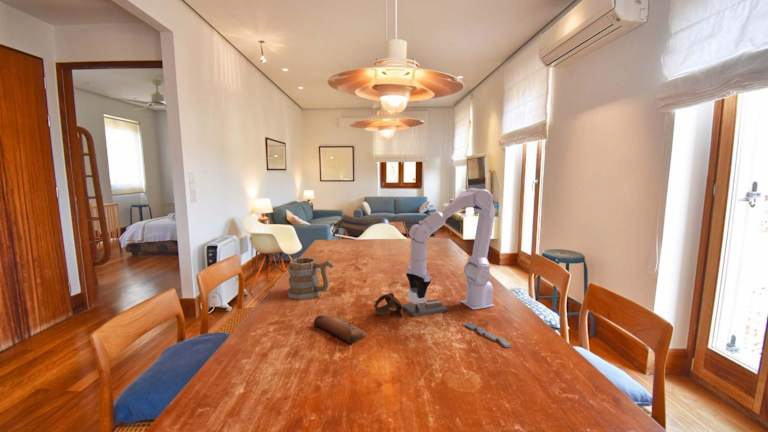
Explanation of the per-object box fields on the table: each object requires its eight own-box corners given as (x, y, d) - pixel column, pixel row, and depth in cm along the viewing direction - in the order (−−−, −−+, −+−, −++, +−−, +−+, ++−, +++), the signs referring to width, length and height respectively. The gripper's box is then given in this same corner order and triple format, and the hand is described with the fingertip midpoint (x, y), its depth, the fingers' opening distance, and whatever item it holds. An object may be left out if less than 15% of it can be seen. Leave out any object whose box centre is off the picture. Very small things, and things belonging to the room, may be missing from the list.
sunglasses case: (371, 334, 101) (362, 320, 98) (356, 353, 97) (347, 339, 94) (333, 317, 113) (325, 304, 110) (319, 333, 109) (310, 320, 106)
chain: (469, 323, 109) (469, 321, 109) (513, 345, 95) (514, 342, 95) (462, 326, 107) (462, 323, 107) (506, 348, 94) (506, 346, 93)
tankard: (281, 296, 132) (280, 260, 130) (300, 286, 143) (299, 253, 141) (324, 304, 124) (323, 265, 122) (340, 293, 136) (340, 257, 134)
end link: (420, 297, 122) (420, 287, 122) (426, 302, 117) (426, 291, 117) (408, 299, 120) (408, 288, 120) (413, 303, 116) (413, 292, 115)
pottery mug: (405, 322, 111) (394, 304, 108) (381, 331, 113) (369, 314, 110) (405, 300, 122) (395, 283, 120) (382, 309, 124) (372, 292, 122)
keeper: (435, 301, 127) (435, 292, 127) (447, 311, 119) (448, 300, 118) (402, 306, 122) (402, 296, 122) (412, 316, 114) (413, 305, 113)
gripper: (400, 254, 122) (399, 289, 124) (417, 264, 109) (416, 303, 111) (417, 252, 125) (416, 287, 127) (436, 262, 111) (435, 301, 113)
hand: (417, 294), depth 119 cm, fingers closed on end link, 5 cm apart
